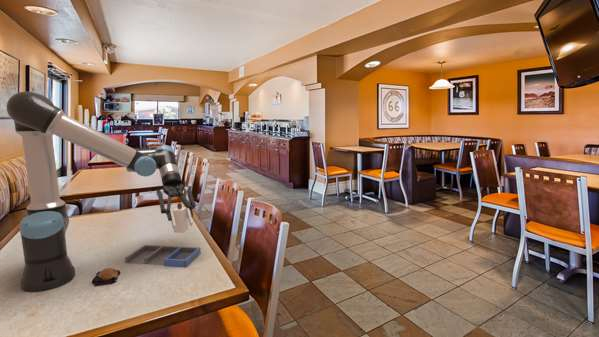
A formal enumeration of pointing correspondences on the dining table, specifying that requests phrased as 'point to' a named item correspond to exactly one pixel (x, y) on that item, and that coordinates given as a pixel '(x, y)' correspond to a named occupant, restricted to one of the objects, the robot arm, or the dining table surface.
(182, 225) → the cream block with knob
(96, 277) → the bun on dark wrapper
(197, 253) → the gray divided tray
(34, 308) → the dining table surface
